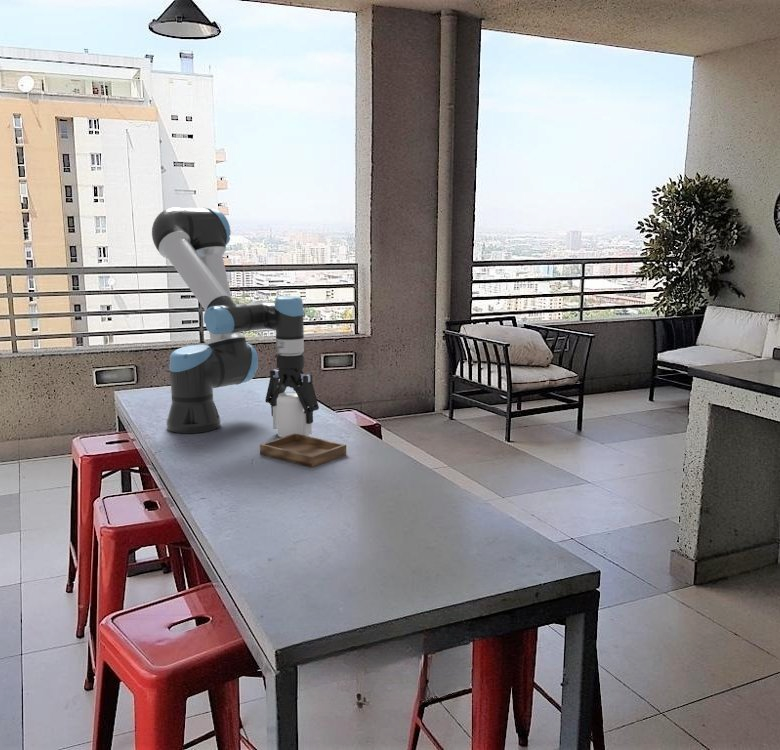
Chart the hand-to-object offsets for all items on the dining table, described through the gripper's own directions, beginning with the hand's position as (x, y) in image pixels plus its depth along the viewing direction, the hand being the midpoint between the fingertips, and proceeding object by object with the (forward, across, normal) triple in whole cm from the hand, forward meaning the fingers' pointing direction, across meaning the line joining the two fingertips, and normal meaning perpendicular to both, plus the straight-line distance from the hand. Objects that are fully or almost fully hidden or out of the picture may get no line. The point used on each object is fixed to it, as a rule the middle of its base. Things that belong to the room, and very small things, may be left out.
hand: (292, 431), depth 207 cm
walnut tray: (+1, +14, -10) cm, 18 cm away
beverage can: (+2, 0, 0) cm, 2 cm away
